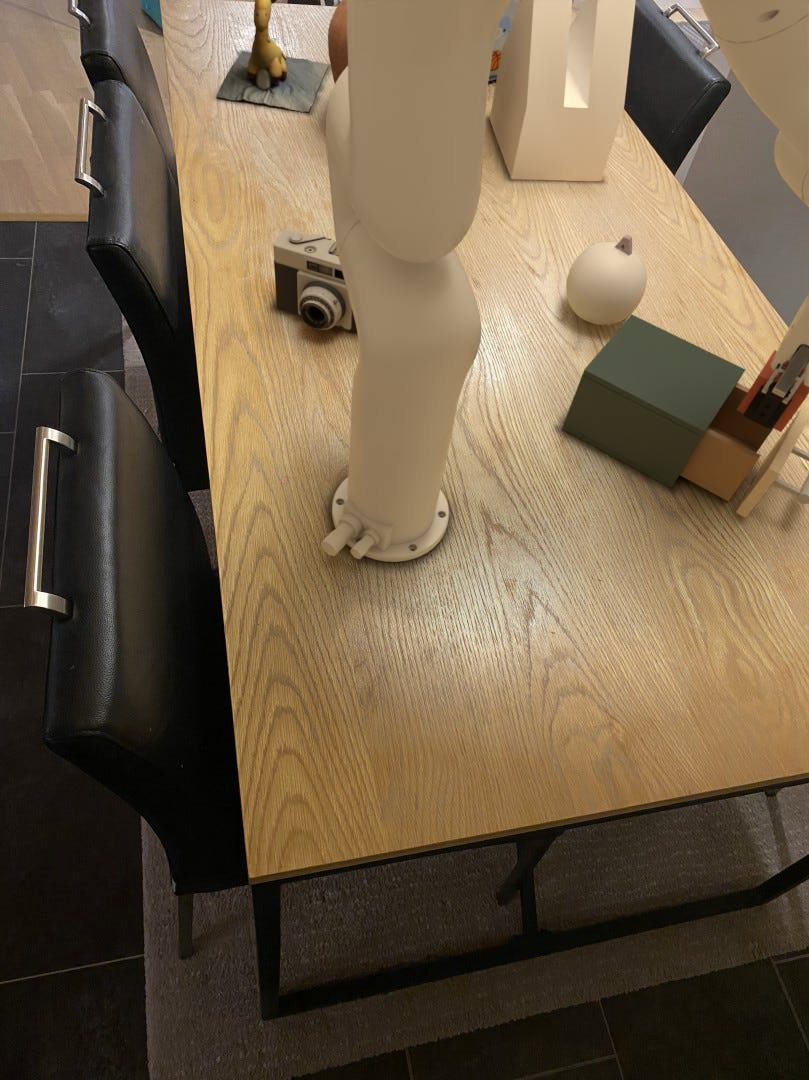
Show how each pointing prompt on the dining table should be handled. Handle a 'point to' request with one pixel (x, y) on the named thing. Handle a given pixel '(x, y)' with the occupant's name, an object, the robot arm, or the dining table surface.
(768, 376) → the block
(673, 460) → the cabinet
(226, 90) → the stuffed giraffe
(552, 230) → the dining table surface
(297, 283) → the camera
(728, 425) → the drawer
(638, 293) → the ornament
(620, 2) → the beige slotted block
